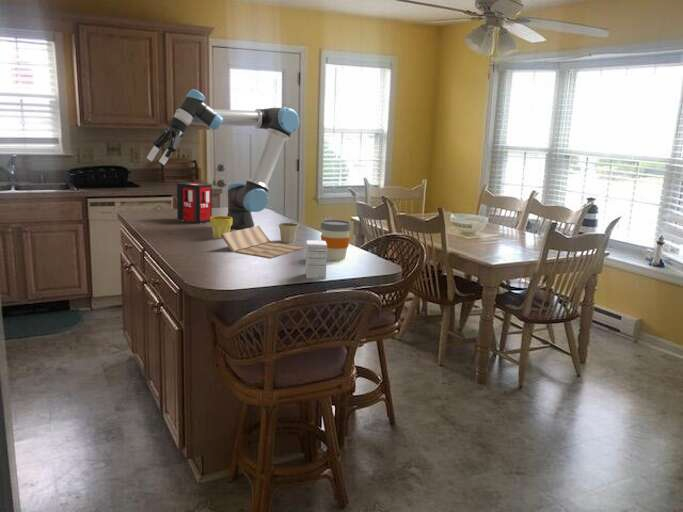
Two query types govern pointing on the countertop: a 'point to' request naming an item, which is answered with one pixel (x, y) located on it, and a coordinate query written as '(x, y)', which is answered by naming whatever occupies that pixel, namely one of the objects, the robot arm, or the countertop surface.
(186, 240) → the countertop surface
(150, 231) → the countertop surface
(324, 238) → the reusable coffee cup
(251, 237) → the board
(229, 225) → the plant pot
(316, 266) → the supplement box
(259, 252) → the laid floor
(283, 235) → the flower pot
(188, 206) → the cleaning product box
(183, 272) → the countertop surface
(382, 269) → the countertop surface
